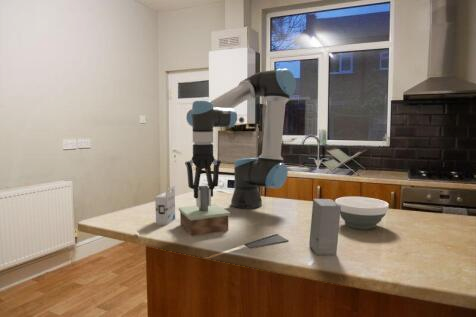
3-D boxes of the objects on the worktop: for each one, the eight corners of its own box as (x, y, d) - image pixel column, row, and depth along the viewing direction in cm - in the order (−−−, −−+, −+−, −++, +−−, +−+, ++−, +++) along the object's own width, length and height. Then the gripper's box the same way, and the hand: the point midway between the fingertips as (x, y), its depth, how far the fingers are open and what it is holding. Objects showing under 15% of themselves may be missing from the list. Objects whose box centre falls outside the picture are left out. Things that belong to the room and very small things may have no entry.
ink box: (164, 220, 138) (163, 184, 137) (175, 220, 137) (175, 185, 136) (155, 226, 130) (154, 188, 128) (167, 227, 129) (166, 189, 127)
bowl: (332, 230, 125) (333, 205, 124) (336, 216, 143) (336, 195, 142) (389, 236, 118) (390, 210, 117) (385, 221, 136) (386, 198, 135)
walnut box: (214, 222, 135) (214, 206, 134) (228, 232, 122) (228, 215, 122) (180, 226, 129) (180, 210, 128) (191, 237, 116) (191, 219, 116)
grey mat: (265, 228, 126) (265, 227, 126) (288, 241, 113) (288, 240, 113) (229, 234, 120) (229, 233, 120) (249, 248, 107) (249, 247, 106)
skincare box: (308, 245, 109) (309, 198, 107) (329, 245, 110) (331, 197, 108) (317, 256, 101) (318, 204, 99) (339, 255, 101) (341, 204, 100)
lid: (214, 206, 135) (214, 181, 134) (230, 215, 122) (230, 188, 120) (178, 210, 128) (178, 184, 127) (190, 220, 115) (190, 191, 114)
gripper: (219, 142, 129) (220, 201, 132) (178, 143, 122) (179, 206, 125) (227, 143, 122) (227, 205, 125) (184, 144, 115) (185, 210, 118)
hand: (203, 205), depth 125 cm, fingers closed on lid, 3 cm apart
